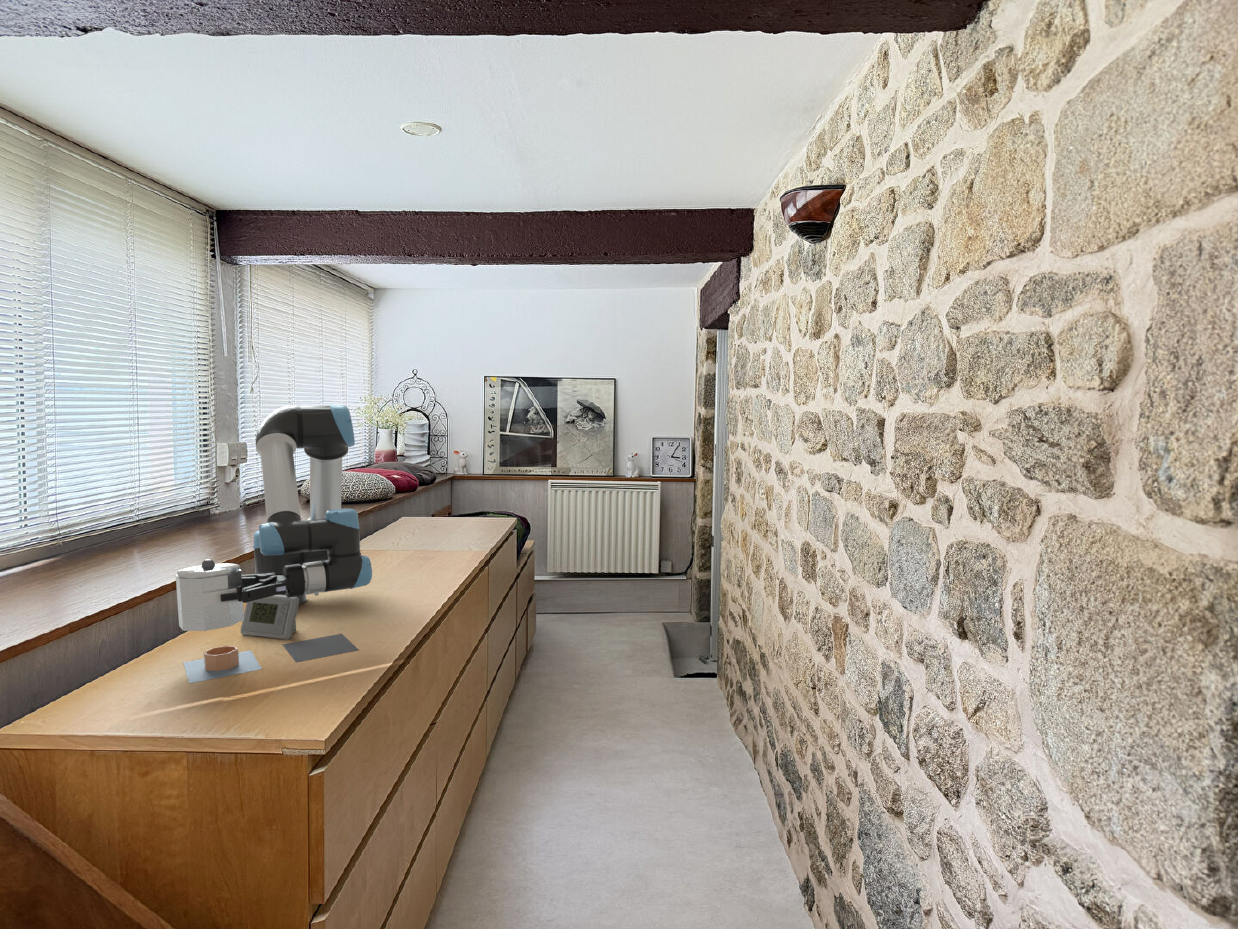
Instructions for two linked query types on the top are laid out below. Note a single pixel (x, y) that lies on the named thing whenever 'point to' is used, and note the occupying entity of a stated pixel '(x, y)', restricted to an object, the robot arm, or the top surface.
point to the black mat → (319, 647)
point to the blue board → (199, 673)
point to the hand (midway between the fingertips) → (199, 593)
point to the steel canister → (202, 581)
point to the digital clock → (271, 617)
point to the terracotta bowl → (221, 658)
